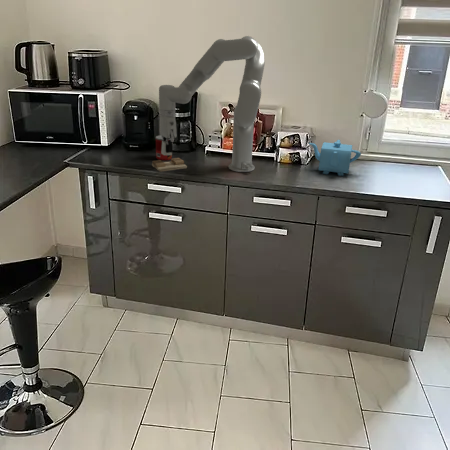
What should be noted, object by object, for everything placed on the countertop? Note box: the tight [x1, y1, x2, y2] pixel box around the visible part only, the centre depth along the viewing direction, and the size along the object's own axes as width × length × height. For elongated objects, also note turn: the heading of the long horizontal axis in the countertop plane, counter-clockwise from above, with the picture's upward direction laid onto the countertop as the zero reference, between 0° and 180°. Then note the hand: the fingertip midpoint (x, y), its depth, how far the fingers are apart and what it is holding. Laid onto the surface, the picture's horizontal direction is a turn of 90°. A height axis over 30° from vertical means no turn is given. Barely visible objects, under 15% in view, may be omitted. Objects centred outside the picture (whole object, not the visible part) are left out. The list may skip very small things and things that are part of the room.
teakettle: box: [308, 139, 362, 177], centre depth 234 cm, size 19×19×15 cm
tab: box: [161, 140, 173, 156], centre depth 232 cm, size 4×4×7 cm
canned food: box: [155, 134, 173, 161], centre depth 245 cm, size 8×8×11 cm
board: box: [151, 157, 188, 173], centre depth 235 cm, size 10×14×2 cm
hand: (167, 150), depth 233 cm, fingers closed on tab, 3 cm apart
